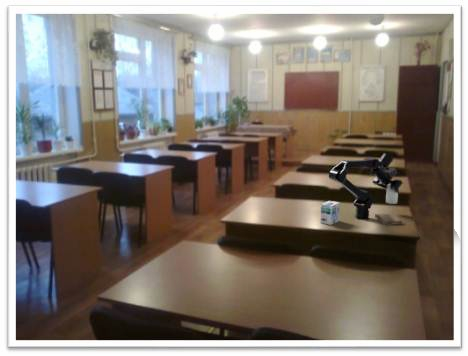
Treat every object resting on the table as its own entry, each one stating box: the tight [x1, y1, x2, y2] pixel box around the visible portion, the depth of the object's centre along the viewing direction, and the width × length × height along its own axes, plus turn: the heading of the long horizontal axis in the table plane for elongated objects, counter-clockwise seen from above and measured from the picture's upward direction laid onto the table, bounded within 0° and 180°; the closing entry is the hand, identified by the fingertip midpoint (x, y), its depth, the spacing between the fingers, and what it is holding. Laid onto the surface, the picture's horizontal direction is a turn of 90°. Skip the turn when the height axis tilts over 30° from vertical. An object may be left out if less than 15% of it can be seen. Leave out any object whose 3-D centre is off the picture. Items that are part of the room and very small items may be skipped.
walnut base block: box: [374, 213, 403, 225], centre depth 244 cm, size 10×14×2 cm
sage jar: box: [385, 184, 399, 205], centre depth 256 cm, size 6×6×10 cm
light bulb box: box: [320, 200, 341, 226], centre depth 241 cm, size 11×7×11 cm, turn 143°
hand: (394, 191), depth 257 cm, fingers closed on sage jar, 6 cm apart
